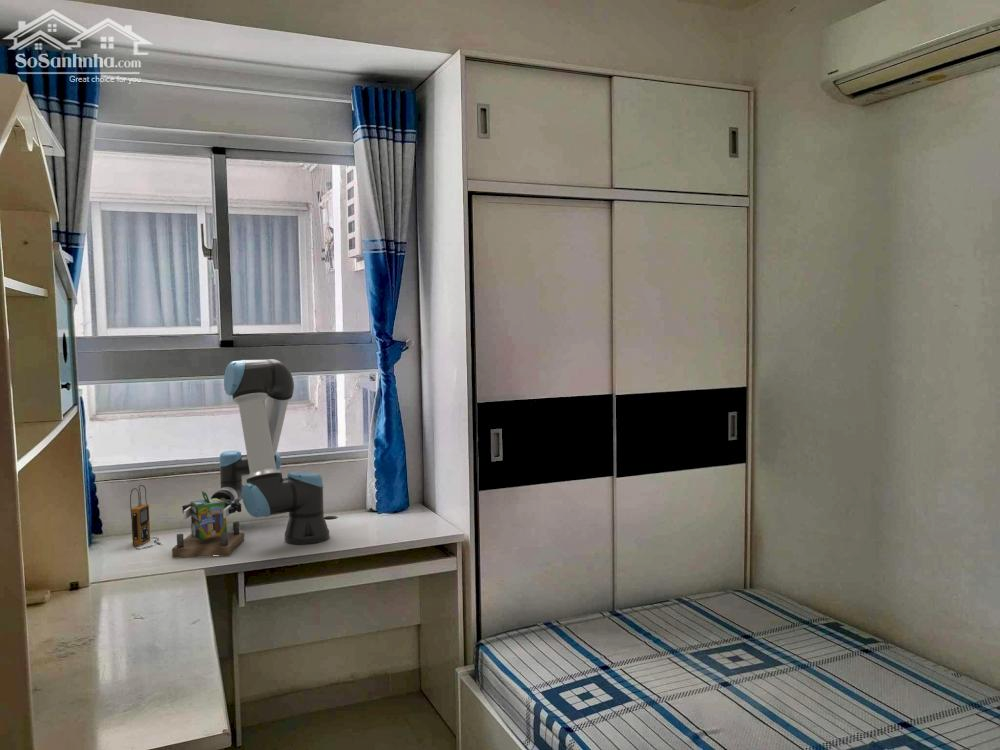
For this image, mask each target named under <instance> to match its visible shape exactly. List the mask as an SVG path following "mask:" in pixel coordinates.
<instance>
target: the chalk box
mask: <svg viewBox="0 0 1000 750" xmlns="http://www.w3.org/2000/svg"><path fill="white" fill-rule="evenodd" d="M201 494H202V497H203V499H199V500H195V501H194V500H193V501H190V502H189V504H190V506H191V516H190V517H191V518H190V520H191V521H190V522H191V524H192V533H191V534H192V535H193V536H194V537H196V538H197V539H199V540H204V539H208V538H213V537H218V536H221V533H223V532H227V533H228V528H227V517H226V518H223V510H224V509H225V501H223V500H220V499H217V498H213V499H211V498H209V496H208V494H207V492H206V491H201Z"/></svg>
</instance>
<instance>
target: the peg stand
mask: <svg viewBox="0 0 1000 750" xmlns="http://www.w3.org/2000/svg"><path fill="white" fill-rule="evenodd" d="M190 531H191V532H190V534H189V535H187V536H186V537H185V538H184V533H177V534H176V545H175V546H173V547H172V548H171V557H181V558H199V557H198V556H211V557H214V556H213V555H230V554H231V553H232V552H233V551H234V550H235V549H236V548H237V547H238V546H239V545H240V544H241V543H242V542H243V543H244V542H245V532H243V531H241V532H240V522H239V521H234V522H232V532H228V531H227V532H223V533H221V536H218V537H213V538H208V539H204V540H199V539H197V538H196V537H194V536H193V535H192V523H191V524H190ZM243 543H242V544H243ZM242 544H241V545H242ZM239 547H240V546H239ZM239 547H238V548H239ZM238 548H237V549H238ZM237 549H236V550H237ZM236 550H235V551H236ZM235 551H234V552H235ZM234 552H233V553H234ZM233 553H232V554H233ZM232 554H231V555H232ZM231 555H230V556H231Z"/></svg>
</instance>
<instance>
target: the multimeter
mask: <svg viewBox="0 0 1000 750" xmlns="http://www.w3.org/2000/svg"><path fill="white" fill-rule="evenodd" d="M140 487H143V488H144V491H145V496H144V497H145V498H144V499H145V500H147V490H146V487H145V485H142V484H141V485H138V488H132V489H131V491H130V498H129V500H130V502H129V503H130V504H129V505H130V508H129V509H130V516H131V517H130V520H131V534H132V540H131V541H132V546H133V547H134V548H135V549H136V550H139V548H138V547H139V546H138V545H142V544H143V545H144V544H146V543H148V541H149V542H150V541H151V538H150V537H151V532H150V531H151V527H150V505H149V503H147V501H145V503H142V496H141V488H140ZM133 490H136V491H137V493H138V494H137V496H138V498H137V499H138V501H137V505H136V506H134V507H132V493H133ZM152 537H153V536H152ZM157 538H158V539H159V537H157ZM157 538H156V539H155V537H153V538H152V539H154V541H153V543H156V544H153V545H147V546H144V547H143V549H147V548H146V547H148V548H151V547H150V546H152V547H154V545H155V546H157V545H163V543H162V542H159V540H160V539H159V540H158V539H157ZM156 540H157V541H156ZM143 545H142V546H143Z"/></svg>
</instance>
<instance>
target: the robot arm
mask: <svg viewBox="0 0 1000 750" xmlns="http://www.w3.org/2000/svg"><path fill="white" fill-rule="evenodd" d="M223 387H224V391H225V394H226V395H228V396H232V400H233V403H235V404H237V405H238V409H239V415H240V421H241V422H240V423H241V427H242V433H243V438H244V439H243V440H244V446H245V451H246V454H243V455H242V451H240V450H227V451H223V452H221V453H220V454H219V476H220V482H219V483H220V484H219V485H220V489H218V490H217V491H216V492H215V493H213V494H212V495H211V496H210V499H213V498H217V499H220V500H223V501H225V509H224V510H223V518H226V519H227V517H229V516H230V515H231V514H235V513H236V512H237V513H242V504H241V502H240V501H241V500H242V502H243V505H244V507H245V510H246V511H247V513H248V514H249V515H250V516H251V517H254V518H263V517H264V518H267V517H270V516H275V515H280V514H287V513H288V521H287V525H286V528H285V532H284V542H285V543H288V544H292V545H308V544H307V543H312V544H316V542H318V543H321V542H320V541H322V542H324V541H323V540H325V541H327V540H328V539H329V538H330V529H329V528H328V524H327V522H326V519H325V516H324V515H325V514H324V483H323V477H322V476H321V475H320V474H319V473H316V472H308V471H291V472H288V473H287V476H286V477H285V478H284V477H283V474H282V471H280V470H279V469H280V468H281V466H282V458H281V454H280V453H279V452H278V447H279V444H280V443H279V442H280V440H281V439H280V438H281V434H282V430H283V425H284V422H285V417H286V414H287V409H288V404H289V401H290V400H291V399H292V398H293V395H294V390H295V382H294V377H293V375H292V372H291V371H290V369H289V368H288V366H287V365H286V364H285V363H283V362H281V361H279V360H278V359H273V358H267V359H241V360H234V361H230V362H229V363H228V364H227V366H226V368H225V373H224V376H223ZM265 401H266V402H265ZM244 476H247V477H246V480H245V481H246V483H245V484H243V477H244ZM182 514H183V519H184V520H187V519H188V518H190V517H191V506H190V503H187V504H185V505H182ZM326 539H327V540H326Z"/></svg>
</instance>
